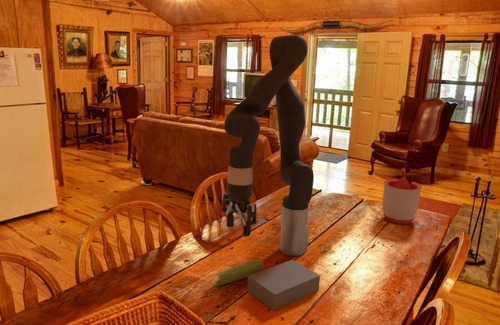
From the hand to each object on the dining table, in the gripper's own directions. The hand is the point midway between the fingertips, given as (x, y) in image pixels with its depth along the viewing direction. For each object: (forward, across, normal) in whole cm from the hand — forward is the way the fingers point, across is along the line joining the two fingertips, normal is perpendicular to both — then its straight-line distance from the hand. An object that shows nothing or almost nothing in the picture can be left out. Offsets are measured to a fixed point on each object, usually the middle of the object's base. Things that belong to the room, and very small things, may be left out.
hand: (238, 231), depth 124 cm
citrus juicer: (+15, 0, -90) cm, 91 cm away
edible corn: (+16, -1, 0) cm, 16 cm away
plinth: (+16, -14, -7) cm, 22 cm away
